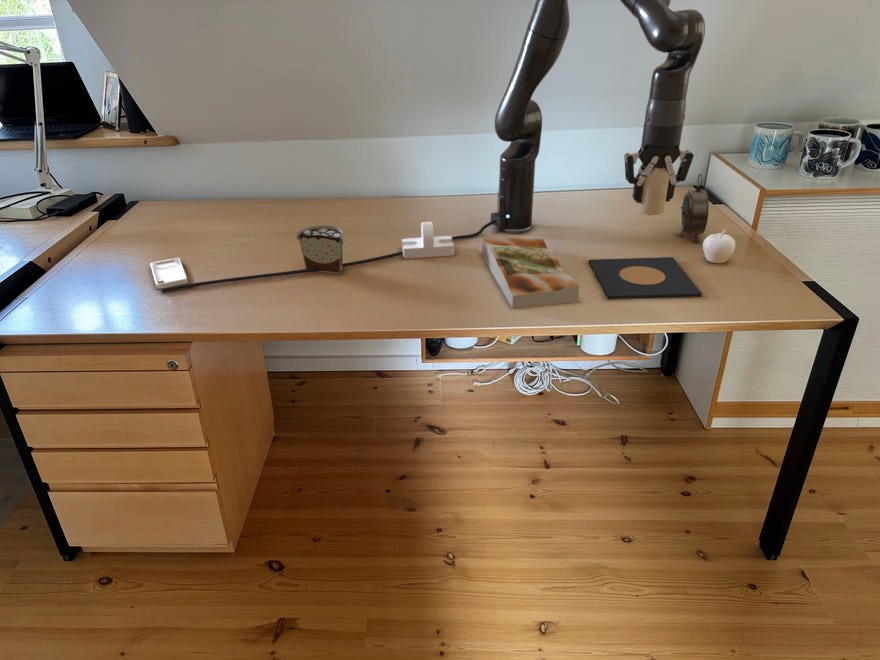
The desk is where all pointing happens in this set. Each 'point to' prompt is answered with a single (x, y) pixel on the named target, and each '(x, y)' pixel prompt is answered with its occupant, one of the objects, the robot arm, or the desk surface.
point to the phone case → (169, 273)
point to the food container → (322, 248)
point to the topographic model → (528, 271)
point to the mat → (643, 278)
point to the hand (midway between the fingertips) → (651, 200)
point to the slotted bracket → (427, 244)
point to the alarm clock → (695, 211)
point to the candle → (654, 192)
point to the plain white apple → (718, 247)
